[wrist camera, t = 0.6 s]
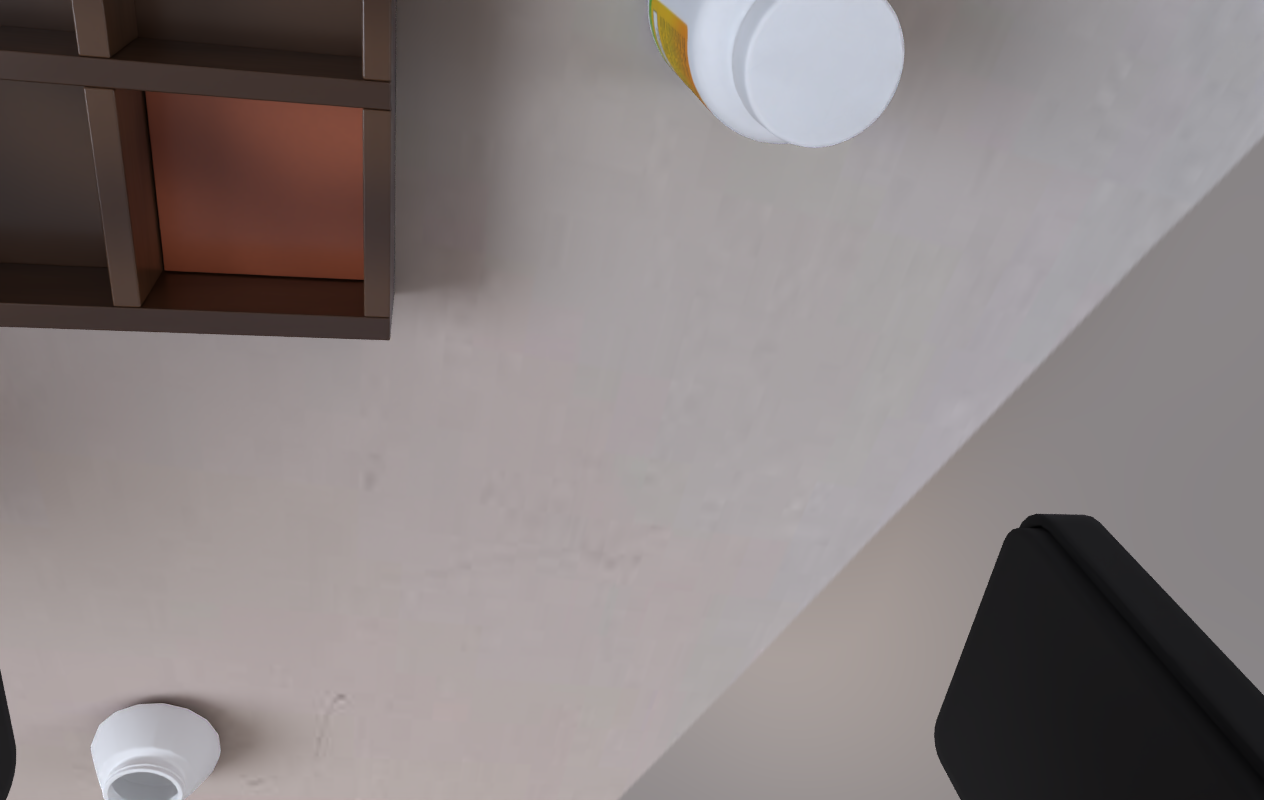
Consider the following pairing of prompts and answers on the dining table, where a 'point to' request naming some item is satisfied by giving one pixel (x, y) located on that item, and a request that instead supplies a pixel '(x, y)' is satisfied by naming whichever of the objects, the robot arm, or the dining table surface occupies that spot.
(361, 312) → the wooden compartment tray
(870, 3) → the supplement bottle
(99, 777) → the lidless jar
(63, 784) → the dining table surface
